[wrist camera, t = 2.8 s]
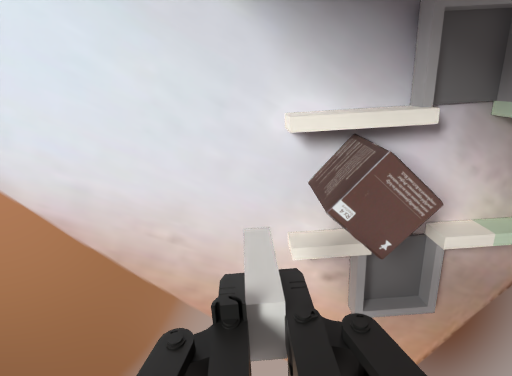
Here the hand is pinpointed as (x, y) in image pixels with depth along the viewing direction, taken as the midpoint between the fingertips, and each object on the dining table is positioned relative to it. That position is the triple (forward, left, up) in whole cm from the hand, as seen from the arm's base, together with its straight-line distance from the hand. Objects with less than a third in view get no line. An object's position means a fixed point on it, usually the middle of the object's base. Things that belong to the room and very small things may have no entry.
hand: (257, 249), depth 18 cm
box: (0, +9, -11) cm, 14 cm away
